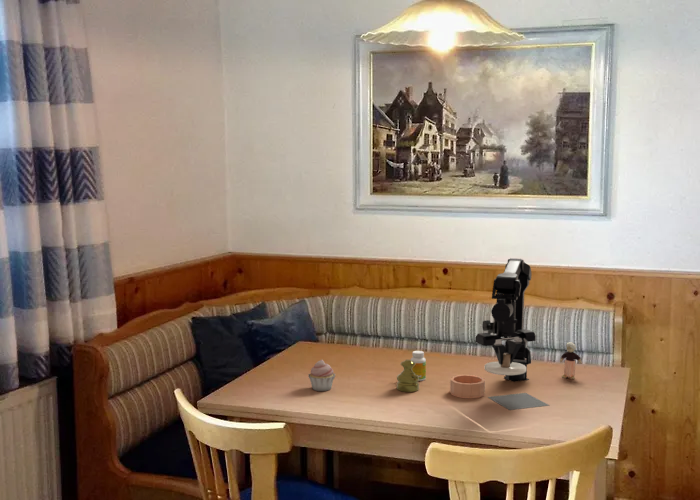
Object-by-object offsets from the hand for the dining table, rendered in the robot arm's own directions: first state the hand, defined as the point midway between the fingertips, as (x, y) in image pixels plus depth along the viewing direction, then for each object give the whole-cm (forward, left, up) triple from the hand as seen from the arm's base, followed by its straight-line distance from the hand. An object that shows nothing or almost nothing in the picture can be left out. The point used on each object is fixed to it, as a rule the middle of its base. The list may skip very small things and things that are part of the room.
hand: (505, 364), depth 247 cm
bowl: (+8, -10, -12) cm, 17 cm away
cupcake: (+51, -32, -12) cm, 61 cm away
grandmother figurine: (-35, -16, -12) cm, 40 cm away
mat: (-3, +3, -12) cm, 13 cm away
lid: (0, 0, -2) cm, 2 cm away
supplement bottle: (+16, -32, -12) cm, 38 cm away
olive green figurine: (+24, -22, -12) cm, 35 cm away
